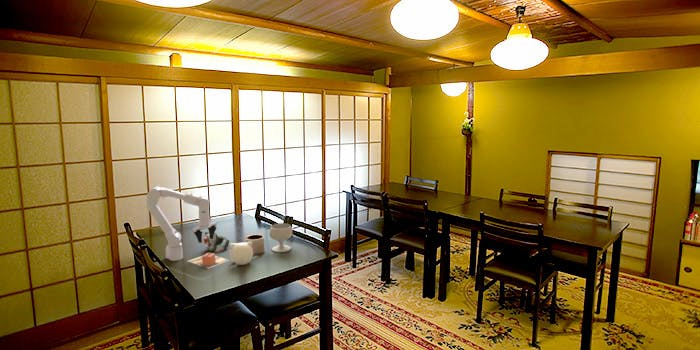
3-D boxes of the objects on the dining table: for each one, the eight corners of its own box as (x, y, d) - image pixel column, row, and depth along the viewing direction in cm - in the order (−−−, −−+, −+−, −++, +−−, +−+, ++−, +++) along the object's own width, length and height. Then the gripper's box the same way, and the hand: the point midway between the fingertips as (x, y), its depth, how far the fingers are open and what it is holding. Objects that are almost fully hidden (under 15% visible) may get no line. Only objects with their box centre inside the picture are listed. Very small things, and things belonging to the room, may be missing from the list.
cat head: (227, 270, 204) (226, 248, 202) (228, 261, 216) (227, 240, 214) (256, 267, 208) (255, 245, 206) (255, 258, 221) (254, 238, 219)
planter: (242, 253, 229) (241, 237, 228) (256, 247, 238) (255, 233, 236) (254, 256, 223) (254, 241, 222) (268, 251, 232) (267, 236, 231)
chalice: (265, 251, 232) (264, 227, 230) (279, 244, 244) (278, 221, 242) (283, 255, 226) (282, 230, 223) (297, 247, 238) (296, 224, 235)
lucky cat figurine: (227, 254, 227) (214, 236, 221) (209, 261, 229) (196, 244, 223) (232, 239, 241) (220, 222, 235) (215, 246, 242) (203, 229, 236)
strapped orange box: (206, 261, 212) (206, 252, 211) (215, 261, 212) (214, 252, 211) (202, 265, 207) (202, 256, 206) (211, 265, 207) (211, 256, 206)
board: (187, 263, 214) (186, 256, 213) (208, 255, 225) (208, 249, 225) (208, 270, 204) (208, 264, 203) (229, 262, 215) (229, 255, 214)
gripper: (197, 222, 211) (199, 245, 214) (219, 216, 223) (220, 238, 225) (189, 220, 215) (191, 243, 217) (211, 214, 227) (213, 236, 229)
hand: (205, 240), depth 222 cm, fingers open, 7 cm apart
